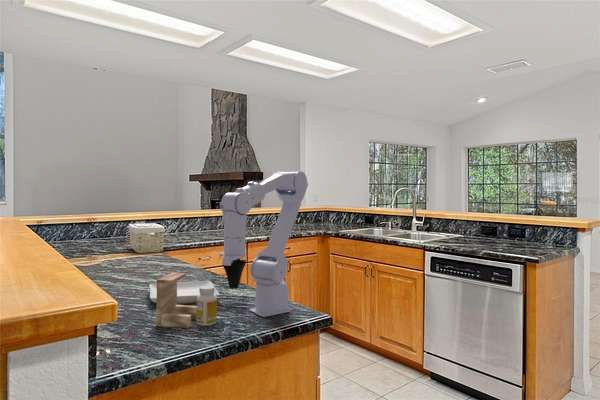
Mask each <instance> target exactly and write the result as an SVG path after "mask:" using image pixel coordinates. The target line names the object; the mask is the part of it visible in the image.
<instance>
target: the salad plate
mask: <svg viewBox="0 0 600 400" xmlns="http://www.w3.org/2000/svg"><path fill="white" fill-rule="evenodd" d="M148 286H149V291H150V292H149V299H150V301H152V302H153V303H156V301H157V282H156V283H150V284H149V285H148ZM202 286H214V284H213V283H212V281H210V280H200V281H199V280H197V281H193V280H191V281H177V305H183V304H191V303H193V304H194V303H195V304H197V296H198V295H200V292H199V289H200V287H202ZM214 294H215V295H216V296H217V298H218V297H219V296H220V292H219V291H218V290H217V288H216V287H215V291H214Z"/></svg>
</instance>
